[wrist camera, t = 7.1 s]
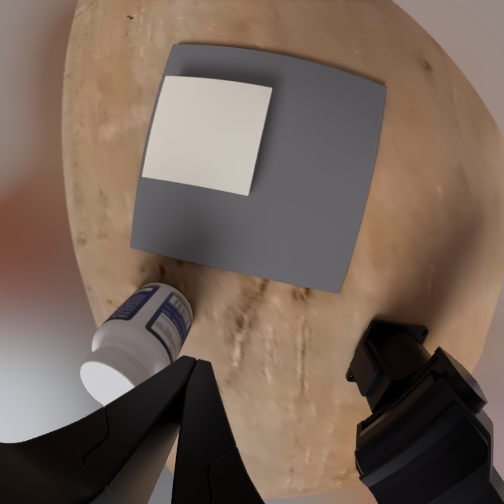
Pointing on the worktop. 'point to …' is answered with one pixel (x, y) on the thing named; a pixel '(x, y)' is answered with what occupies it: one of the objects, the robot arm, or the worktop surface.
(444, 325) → the worktop surface
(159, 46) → the worktop surface
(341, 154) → the mat
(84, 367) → the pill bottle
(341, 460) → the worktop surface
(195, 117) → the tile
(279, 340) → the worktop surface
